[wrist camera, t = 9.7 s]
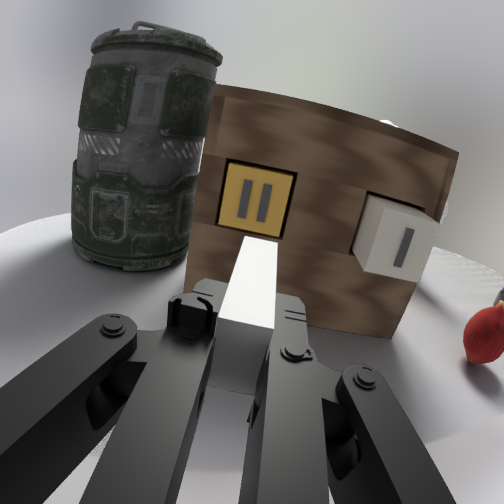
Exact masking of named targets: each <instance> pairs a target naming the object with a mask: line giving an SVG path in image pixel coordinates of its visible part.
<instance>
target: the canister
mask: <svg viewBox="0 0 504 504" xmlns="http://www.w3.org/2000/svg"><path fill="white" fill-rule="evenodd" d="M138 26H144V27H148V28H153V29H154V30H137V28H138ZM119 30H120V29H119V28H118V29H114V30H110V31H108V32H105V33H103V34H101V35H99V36H98V37H97V38H96V39H95V40H94V42H93V43H92V46H91V52H92V53H93V54H94V55H93V56H92V60H91V65H90V68H89V69H88V70H87V72H86V77H85V82H84V87H83V93H82V99H81V105H80V112H79V120H78V127H79V128H80V133H79V143H78V154H77V159H76V160H75V161H74V162H73V172H72V202H71V230H72V243H73V245H74V247H75V249H76V251H77V253H78V254H79V255H80V256H81V257H82V258H84V259H86V260H87V261H89V262H91V263H94V260H95V261H97V262H100V263H103V264H107V265H111V266H116V267H122V268H123V270H124V271H147V270H153V269H159V268H163V267H166V266H169V265H170V264H171V262H172V261H173V260H175V259H177V258H180V257H182V256H183V255H184V254H185V253H187V251H188V249H189V241H190V233H191V225H192V218H193V211H194V204H195V197H196V190H197V184H198V178H199V172H198V168H199V162H200V155H201V149H202V144H203V138H204V137H205V136H206V131H207V125H208V120H209V115H210V109H211V104H212V99H213V94H214V89H215V85H216V82H215V77H216V72H217V68H216V67H218V66H220V65H221V64H222V59H223V56H222V55H221V54H220V53H219V52H218V51H216V50H215V49H214V48H213V47H212V46H210V45H209V44H207V43H206V40H205V39H203V37H200V36H197V35H194V34H190V33H186V32H183V31H180V30H176V29H173V28H169V27H165V26H161V25H157V24H153V23H149V22H144V21H137V22H136V23H134V25H133V27H132V30H129V31H119Z"/></svg>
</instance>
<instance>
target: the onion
mask: <svg viewBox="0 0 504 504" xmlns="http://www.w3.org/2000/svg"><path fill="white" fill-rule="evenodd" d="M463 343H464V347H465V351H466V355H467V360H468V361H469V363H472V364H484V363H489V362H493V361H494V360H496V359H497V358H499V357H500V355H501V354H502V353H503V352H504V302H503V301H502V300H500V301H499V302H498V304H497V305H496V306H495V307H489V308H485V309H483V310H481V311H479V312H478V313H476V314H475V315H474V316H473V317H472V318H471V319H470V320H469V322H468V323H467V324H466V327H465V330H464V336H463Z"/></svg>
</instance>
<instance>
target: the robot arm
mask: <svg viewBox="0 0 504 504" xmlns="http://www.w3.org/2000/svg"><path fill="white" fill-rule="evenodd" d="M277 246H278V243H276V242H271V241H267V240H262V239H257V238H253V237H248V236H245V237H244V240H243V243H242V246H241V249H240V252H239V255H238V258H237V261H236V264H235V267H234V270H233V273H232V276H231V279H230V282H229V283H225V282H220V281H216V280H211V279H207V278H204V279H203V280H201V281H199V282H198V283H196V285H195V287H194V289H193V290H192V292H191V293H184V294H179V295H176V296H173V297H172V298H171V299H170V300H169V302H168V317H167V327H166V329H164V330H159V331H142V330H137V326H136V324H135V322H134V321H133V320H132V319H130V318H129V317H127V316H124V315H121V314H106V315H102V316H100V317H98V318H96V319H94V320H93V321H91V322H90V323H89V324H87V325H86V326H84V327H83V328H81V329H80V330H79V331H77V332H76V333H74V334H73V335H72V336H70V337H69V338H67V339H66V340H65V341H63V342H62V343H60V344H59V345H58V346H56V347H55V348H54V349H52V350H51V351H49V352H48V353H47V354H45V355H44V356H43V357H41V358H40V359H38V360H37V361H36V362H34V363H33V364H32V365H30V366H29V367H28V368H26V369H25V370H24V371H22V372H21V373H20V374H18V375H17V376H16V377H14V378H13V379H12V380H10V381H9V382H8V383H6V384H5V385H4V386H2V387H1V388H0V504H43V503H44V501H45V500H46V499H47V498H48V497H49V496H50V495H51V494H52V493H53V492H54V491H55V490H56V488H58V486H59V485H60V484H61V483H62V482H63V481H64V480H65V479H66V478H67V477H68V476H69V475H70V474H71V472H72V471H73V470H74V469H75V468H76V467H77V466H78V465H79V464H80V463H81V462H82V461H83V460H84V458H85V457H86V456H87V455H88V454H89V453H90V452H91V451H92V450H93V449H94V448H95V446H96V445H97V444H98V443H99V442H100V441H101V440H102V439H103V438H104V437H105V436H106V434H107V433H108V432H109V431H110V430H111V429H112V428H113V427H114V426H115V425H116V426H115V428H114V430H113V432H112V434H111V436H110V438H109V440H108V442H107V444H106V446H105V448H104V450H103V452H102V455H101V457H100V459H99V461H98V463H97V465H96V467H95V470H94V472H93V474H92V476H91V478H90V480H89V482H88V485H87V487H86V489H85V491H84V494H83V496H82V498H81V500H80V502H79V504H176V500H177V496H178V493H179V489H180V485H181V482H182V478H183V474H184V471H185V467H186V463H187V460H188V456H189V452H190V448H191V445H192V441H193V437H194V434H195V430H196V426H197V423H198V419H199V415H200V412H201V408H202V405H203V401H204V396H205V390H206V385H207V386H211V387H215V388H219V389H224V390H229V391H233V392H238V393H243V394H248V395H254V393H255V398H254V401H253V404H252V408H251V411H250V414H249V417H248V420H247V422H249V430H248V438H247V445H246V453H245V460H244V467H243V475H242V482H241V489H240V496H239V503H238V504H329V489H328V486H329V488H330V491H331V494H332V497H333V500H334V503H335V504H456V502H455V500H454V498H453V496H452V494H451V493H450V491H449V489H448V487H447V486H446V484H445V482H444V480H443V478H442V476H441V474H440V473H439V471H438V469H437V467H436V466H435V464H434V462H433V460H432V459H431V457H430V455H429V453H428V451H427V449H426V448H425V446H424V444H423V443H422V441H421V439H420V437H419V436H418V434H417V432H416V431H415V429H414V427H413V425H412V424H411V422H410V420H409V419H408V417H407V415H406V414H405V412H404V410H403V409H402V407H401V405H400V404H399V402H398V400H397V399H396V397H395V395H394V394H393V392H392V390H391V389H390V387H389V386H388V384H387V382H386V381H385V379H384V378H383V376H382V375H381V374H380V373H379V372H378V371H376V370H375V369H373V368H372V367H369V366H366V365H363V364H353V365H349V366H347V367H346V368H345V369H344V370H343V372H339V371H337V370H334V369H331V368H329V367H327V366H325V365H323V364H321V363H320V362H318V361H317V356H316V353H315V351H314V350H313V349H312V348H311V347H310V346H309V342H308V332H307V323H306V315H305V314H306V313H305V305H304V304H303V303H302V301H301V300H300V299H299V297H295V296H290V295H286V294H281V293H276V273H277ZM500 300H502V301H503V302H504V288H503V289H502V290H501V291H500V292H499V293H498V295H497V297H496V300H495V302H494V307H495V306H496V305H497V304H498V302H499V301H500ZM255 390H256V391H255Z"/></svg>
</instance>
